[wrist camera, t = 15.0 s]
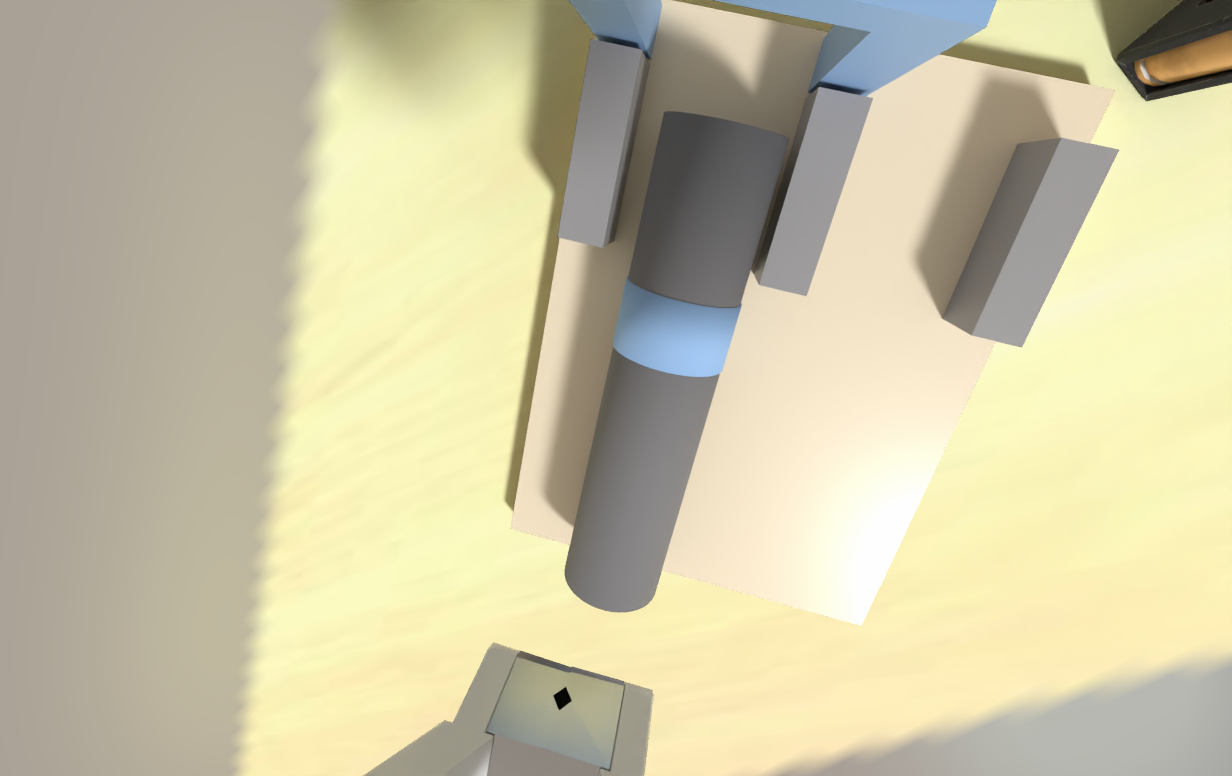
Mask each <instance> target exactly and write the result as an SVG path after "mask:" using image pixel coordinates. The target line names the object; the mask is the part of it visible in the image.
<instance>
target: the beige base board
mask: <svg viewBox="0 0 1232 776" xmlns="http://www.w3.org/2000/svg"><path fill="white" fill-rule="evenodd" d="M661 3H662V9H661V14H660V19H659V24H658V28H657V33H656V38H655V43H654V48H653V53H652V58H651V59H647V58H646V57H645V55H644V53H643V51H642V50H641V49H637V48H632V47H627V46H622V45H618V44H613V43H608V42H603V41H599V40H598V39H597V37H596V36H595V35H594V38H593V39H591V40H590V46H589V52H588V58H587V64H586V70H585V76H584V82H583V88H582V94H581V100H580V106H579V112H578V118H577V124H576V130H575V136H574V142H573V148H572V154H571V160H570V166H569V172H568V178H567V184H566V190H565V195H564V201H563V207H562V213H561V219H560V225H559V231H558V238H560V239H559V245H558V251H557V257H556V263H555V269H554V275H553V281H552V287H551V293H550V299H549V304H548V310H547V316H546V322H545V328H544V334H543V340H542V346H541V352H540V358H539V364H538V370H537V375H536V381H535V387H534V393H533V399H532V405H531V411H530V417H529V423H528V429H527V435H526V441H525V447H524V452H523V458H522V464H521V470H520V476H519V482H518V488H517V494H516V500H515V506H514V512H513V518H512V523H511V529H514V530H517V531H521V532H525V533H528V534H532V535H535V536H539V537H543V538H546V539H550V540H554V541H557V542H561V543H564V544H568V545H570V543H571V538H572V534H573V529H574V524H575V520H576V515H577V511H578V506H579V501H580V497H581V492H582V488H583V483H584V478H585V474H586V469H587V465H588V460H589V455H590V451H591V446H592V441H593V437H594V432H595V428H596V423H597V418H598V414H599V409H600V405H601V400H602V395H603V391H604V386H605V382H606V377H607V372H608V368H609V363H610V359H611V354H612V349H613V338H614V334H615V329H616V324H617V320H618V315H619V311H620V306H621V301H622V297H623V292H624V287H625V283H626V278H627V276H629V271H630V267H631V262H632V257H633V253H634V248H635V244H636V239H637V234H638V230H639V225H640V221H641V216H642V211H643V207H644V202H645V198H646V193H647V188H648V184H649V179H650V174H651V170H652V165H653V161H654V156H655V151H656V147H657V142H658V138H659V133H660V128H661V124H662V119H663V115H664V112H666V111H675V112H685V113H692V114H699V115H704V116H710V117H715V118H720V119H725V120H730V121H734V122H738V123H743V124H747V125H751V126H754V127H758V128H762V129H765V130H768V131H772V132H775V133H778V134H780V135H783V136H785V137H787V138H788V139H789V142H788V145H787V149H786V152H785V156H784V159H783V162H782V166H781V169H780V173H779V176H778V179H777V183H776V186H775V189H774V193H773V196H772V200H771V203H770V206H769V210H768V213H767V216H766V220H765V223H764V227H763V230H762V233H761V237H760V240H759V243H758V247H757V250H756V254H755V257H754V260H753V264H752V267H751V271H750V274H749V277H748V281H747V284H746V287H745V291H744V294H743V298H742V301H741V303H742V306H741V310H740V313H739V316H738V320H737V323H736V326H735V330H734V333H733V336H732V340H731V343H730V347H729V350H728V353H727V357H726V360H725V363H724V367H723V370H722V372H721V373H720V375H719V379H718V382H717V385H716V389H715V392H714V396H713V399H712V402H711V406H710V409H709V412H708V416H707V419H706V423H705V426H704V429H703V433H702V436H701V440H700V443H699V446H698V450H697V453H696V456H695V460H694V463H693V467H692V470H691V473H690V477H689V480H688V483H687V487H686V490H685V494H684V497H683V500H682V504H681V507H680V510H679V514H678V517H677V521H676V524H675V527H674V531H673V534H672V538H671V541H670V544H669V548H668V551H667V554H666V558H665V561H664V565H663V568H662V571H665V572H669V573H673V574H676V575H680V576H683V577H687V578H691V579H694V580H698V581H701V582H705V583H709V584H712V585H716V586H719V587H723V588H727V589H730V590H734V591H737V592H741V593H745V594H748V595H752V596H755V597H759V598H763V599H766V600H770V601H774V602H777V603H781V604H784V605H788V606H792V607H795V608H799V609H802V610H806V611H810V612H813V613H817V614H820V615H824V616H828V617H831V618H835V619H838V620H842V621H846V622H849V623H853V624H856V625H860V626H861V625H862V623H863V621H864V619H865V617H866V615H867V613H868V611H869V608H870V606H871V604H872V602H873V600H874V598H875V596H876V594H877V592H878V589H879V587H880V585H881V583H882V581H883V579H884V577H885V575H886V573H887V570H888V568H889V566H890V564H891V562H892V560H893V558H894V556H895V554H896V551H897V549H898V547H899V545H900V543H901V541H902V539H903V537H904V535H905V533H906V530H907V528H908V526H909V524H910V522H911V520H912V518H913V516H914V514H915V511H916V509H917V507H918V505H919V503H920V501H921V499H922V497H923V495H924V492H925V490H926V488H927V486H928V484H929V482H930V480H931V478H932V476H933V473H934V471H935V469H936V467H937V465H938V463H939V461H940V459H941V457H942V455H943V452H944V450H945V448H946V446H947V444H948V442H949V440H950V438H951V436H952V433H953V431H954V429H955V427H956V425H957V423H958V421H959V419H960V417H961V414H962V412H963V410H964V408H965V406H966V404H967V402H968V400H969V398H970V396H971V393H972V391H973V389H974V387H975V385H976V383H977V381H978V379H979V377H980V374H981V372H982V370H983V368H984V366H985V364H986V362H987V360H988V358H989V355H990V353H991V351H992V349H993V347H994V345H995V343H996V341H997V342H1001V343H1005V344H1010V345H1014V346H1018V347H1022V346H1023V344H1024V342H1025V340H1026V338H1027V336H1028V334H1029V332H1030V330H1031V328H1032V325H1033V323H1034V321H1035V319H1036V317H1037V315H1038V313H1039V311H1040V309H1041V307H1042V305H1043V303H1044V301H1045V299H1046V297H1047V295H1048V293H1049V291H1050V289H1051V287H1052V285H1053V283H1054V281H1055V279H1056V277H1057V275H1058V273H1059V271H1060V269H1061V267H1062V265H1063V263H1064V261H1065V259H1066V257H1067V255H1068V253H1069V251H1070V249H1071V246H1072V244H1073V242H1074V240H1075V238H1076V236H1077V234H1078V232H1079V230H1080V228H1081V226H1082V224H1083V222H1084V220H1085V218H1086V216H1087V214H1088V212H1089V210H1090V208H1091V206H1092V204H1093V202H1094V200H1095V198H1096V196H1097V194H1098V192H1099V190H1100V188H1101V186H1102V184H1103V182H1104V180H1105V178H1106V176H1107V174H1108V172H1109V169H1110V167H1111V165H1112V163H1113V161H1114V159H1115V157H1116V155H1117V153H1118V151H1119V150H1118V149H1113V148H1108V147H1104V146H1099V145H1094V144H1090V143H1091V140H1092V138H1093V136H1094V134H1095V132H1096V130H1097V128H1098V126H1099V124H1100V121H1101V119H1102V117H1103V115H1104V113H1105V111H1106V109H1107V107H1108V105H1109V103H1110V100H1111V98H1112V96H1113V94H1114V92H1115V90H1113V89H1108V88H1103V87H1098V86H1093V85H1088V84H1083V83H1079V82H1074V81H1069V80H1064V79H1059V78H1054V77H1049V76H1044V75H1039V74H1034V73H1029V72H1024V71H1019V70H1014V69H1009V68H1004V67H1000V66H995V65H990V64H985V63H980V62H975V61H970V60H965V59H960V58H955V57H950V56H945V55H940V54H939V55H937V56H935V57H934V58H932V59H930V60H928V61H927V62H925V63H923V64H921V65H920V66H918V67H916V68H914V69H913V70H911V71H909V72H907V73H906V74H904V75H902V76H900V77H899V78H897V79H895V80H893V81H892V82H890V83H888V84H887V85H885V86H883V87H881V88H880V89H878V90H876V91H874V92H873V93H871V94H869V95H867V96H866V97H865V96H861V95H856V94H851V93H846V92H842V91H837V90H832V89H827V88H823V87H818V88H817V89H816V90H815V91H814V92H813V93H808V90H809V86H810V83H811V80H812V76H813V73H814V70H815V66H816V63H817V59H818V56H819V53H820V49H821V46H822V43H823V39H824V37H825V36H826V35H827V34H828V32H827V31H822V30H817V29H812V28H807V27H802V26H797V25H792V24H787V23H782V22H777V21H772V20H768V19H763V18H758V17H753V16H748V15H743V14H738V13H733V12H728V11H723V10H718V9H713V8H708V7H703V6H698V5H693V4H689V3H684V2H679V1H674V0H661Z"/></svg>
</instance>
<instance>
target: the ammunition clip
mask: <svg viewBox="0 0 1232 776" xmlns="http://www.w3.org/2000/svg"><path fill="white" fill-rule="evenodd" d="M1117 63H1118V64H1119V65H1120V67H1121V68H1122V69H1123V71H1124V72H1125V73H1126V75H1127V76H1128V77H1129V79H1130V80H1131V81H1132V83H1133V84H1134V85H1135V87H1136V88H1137V89H1138V91H1139V92H1140V93H1141V95H1142V96H1143V98H1144V99H1145V100H1146V101H1150V100H1155V99H1159V98H1164V97H1168V96H1173V95H1177V94H1182V93H1186V92H1191V91H1195V90H1200V89H1204V88H1209V87H1214V86H1218V85H1223V84H1227V83H1232V0H1184V1H1182V2H1181V3H1180V4H1179V5H1178V6H1176V7H1175V8H1174V9H1173V10H1171V11H1170V12H1169V13H1168V14H1167V15H1165V16H1164V17H1163V18H1162V19H1161V20H1159V21H1158V22H1157V23H1156V24H1155V25H1153V26H1152V27H1151V28H1150V29H1149V30H1147V31H1146V32H1145V33H1144V34H1143V35H1141V36H1140V37H1139V38H1138V39H1137V40H1135V41H1134V42H1133V43H1132V44H1131V45H1129V46H1128V47H1127V48H1126V49H1124V50H1123V51H1122V52H1121V53H1120V54H1119V55H1118V58H1117Z"/></svg>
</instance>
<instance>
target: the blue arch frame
mask: <svg viewBox="0 0 1232 776" xmlns="http://www.w3.org/2000/svg"><path fill="white" fill-rule="evenodd" d="M568 1H569V2H570V3H571V4H572V6H573V7H574V8H575V10H576V11H577V12H578V14H579V15H580V16H581V18H582V19H583V20H584V22H585V23H586V24H587V26H588V27H589V28H590V29H591V31H592V32H593V33H594V35H595V36H596V37H597V39H598V40H599V41H603V42H608V43H613V44H618V45H622V46H627V47H632V48H637V49H641V50H642V51H643V53H644V55H645V57H646V58H647V59H651V58H652V53H653V48H654V43H655V38H656V33H657V28H658V24H659V19H660V14H661V9H662V3H661V0H568ZM715 1H719V2H724V3H729V4H734V5H739V6H744V7H749V8H754V9H759V10H764V11H769V12H774V13H779V14H784V15H789V16H794V17H799V18H804V19H809V20H814V21H819V22H824V23H829V24H834V26H833V27H832V28H831V30H830V31H829V32H828V34H827V35H826V36H825V37H824V39H823V43H822V46H821V49H820V53H819V56H818V59H817V63H816V66H815V70H814V73H813V76H812V80H811V83H810V86H809V90H808V93H813V92H814V91H815V90H816V89H817V88H818V87H823V88H827V89H832V90H837V91H842V92H846V93H851V94H856V95H861V96H865V97H866V96H867V95H869V94H871V93H873V92H874V91H876V90H878V89H880V88H881V87H883V86H885V85H887V84H888V83H890V82H892V81H893V80H895V79H897V78H899V77H900V76H902V75H904V74H906V73H907V72H909V71H911V70H913V69H914V68H916V67H918V66H920V65H921V64H923V63H925V62H927V61H928V60H930V59H932V58H934V57H935V56H937V55H939V54H941V53H942V52H944V51H946V50H948V49H949V48H951V47H953V46H954V45H956V44H958V43H960V42H961V41H963V40H965V39H967V38H968V37H970V36H972V35H974V34H975V33H977V32H979V31H981V30H982V29H984V28H986V27H987V24H988V21H989V19H990V16H991V14H992V11H993V8H994V6H995V3H996V1H997V0H715Z"/></svg>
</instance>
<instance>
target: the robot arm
mask: <svg viewBox="0 0 1232 776" xmlns="http://www.w3.org/2000/svg"><path fill="white" fill-rule="evenodd" d="M652 704H653V692H652V690H650V689H647V688H643V687H640V686H636V685H633V684H630V683H626V682H625V684H624V681H621V680H618V679H614V678H610V677H607V676H603V675H600V674H596V673H593V672H589V671H586V670H582V669H579V668H575V667H568V666H565V665H562V664H559V663H556V662H553V661H550V660H547V659H544V658H541V657H538V656H535V655H532V654H529V653H526V652H523V651H519V650H516V649H513V648H509V647H506V646H503V645H500V644H497V643H494V642H493V644H492V645H491V646H490V647H489V649H488V650H487V652H486V654H485V657H484V659H483V661H482V663H481V665H480V667H479V669H478V671H477V673H476V675H475V677H474V680H473V682H472V684H471V686H470V688H469V690H468V692H467V694H466V696H465V698H464V700H463V703H462V705H461V707H460V709H459V711H458V713H457V715H456V717H455V719H454V721H453V722H449V721H445V720H444V721H443V722H442V723H440V724H439V725H437V726H436V727H434V728H433V729H431V730H430V731H428V732H427V733H425V734H424V735H422V736H421V737H419V738H418V739H417V740H415V741H414V742H412V743H411V744H409V745H408V746H406V747H405V748H403V749H402V750H400V751H399V752H397V753H396V754H395V755H393V756H392V757H390V758H389V759H387V760H386V761H384V762H383V763H381V764H380V765H378V766H377V767H375V768H374V769H372V770H371V771H370V772H368V773H367V774H365V775H364V776H644V773H645V765H646V756H647V747H648V739H649V730H650V722H651V713H652Z"/></svg>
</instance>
